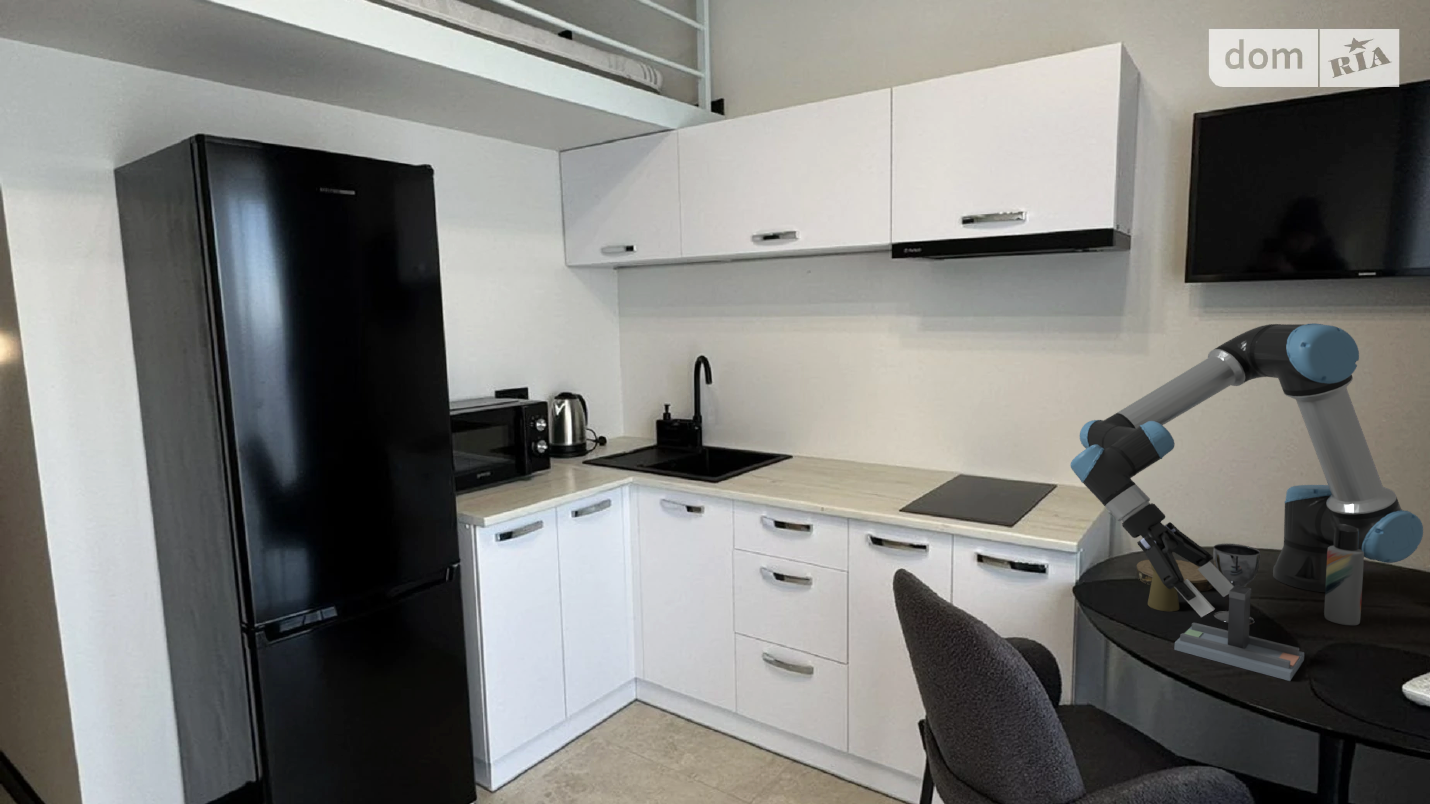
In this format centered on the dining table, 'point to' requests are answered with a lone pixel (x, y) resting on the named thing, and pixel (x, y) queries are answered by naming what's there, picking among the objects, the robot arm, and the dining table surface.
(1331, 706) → the dining table surface
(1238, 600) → the handle
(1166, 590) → the cork
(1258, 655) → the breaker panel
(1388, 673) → the dining table surface
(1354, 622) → the lotion bottle
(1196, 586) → the wood slice
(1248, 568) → the wine glass
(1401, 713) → the dining table surface
